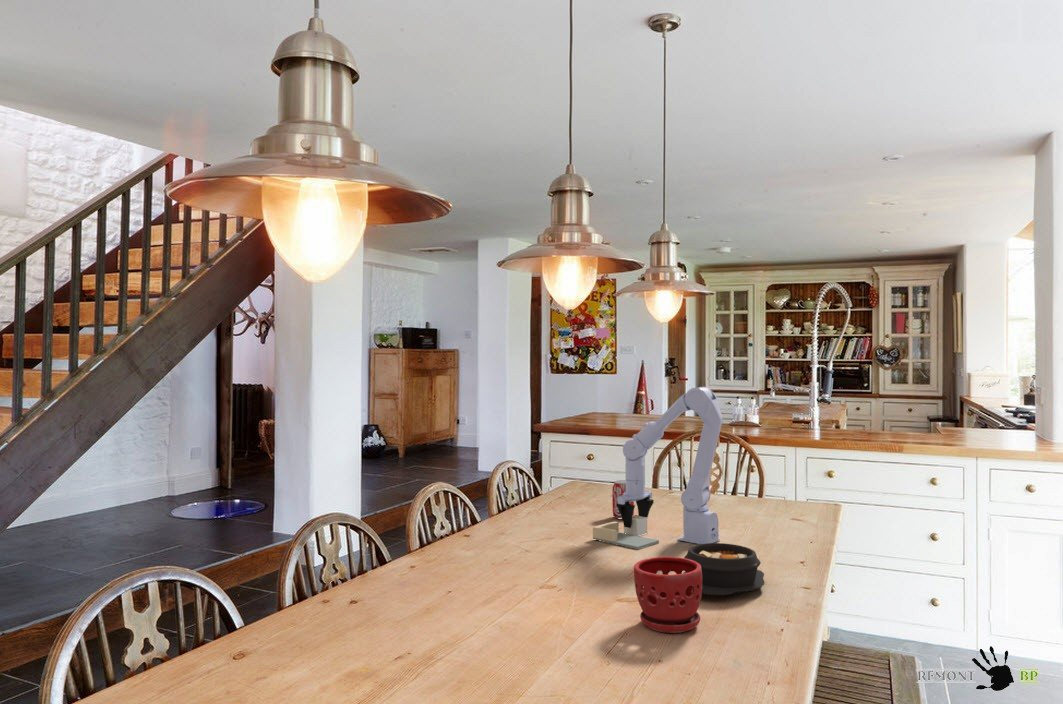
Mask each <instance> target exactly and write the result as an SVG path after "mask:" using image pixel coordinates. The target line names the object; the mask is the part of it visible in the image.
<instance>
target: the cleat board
mask: <svg viewBox="0 0 1063 704" xmlns="http://www.w3.org/2000/svg"><path fill="white" fill-rule="evenodd" d="M619 526H620V525H619V521H611V522H607V523H603V524H598V525H595V526H593V527H592V540H593V539H596V540H601V541H604V542H608V543H607V544H609V543H613V544H612V545H614V544H617V545H616V546H618V545H622V546H621V547H623V546H625V547H624V548H628V547H630V548H629V549H632V548H634V549H633V550H637V549H638V550H641V548H642V549H644V548H643V547H645V548H647V547H646V546H648V547H651V546H654V545H657V544H656V543H658V544H659V543H660V540H659V539H655V538H650V537H644V536H635V535H630V534H625V533H624V532H619V531H620V530H619V529H620V528H619ZM604 542H603V543H604ZM653 544H654V545H653ZM650 545H651V546H650Z"/></svg>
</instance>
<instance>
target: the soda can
mask: <svg viewBox="0 0 1063 704" xmlns="http://www.w3.org/2000/svg"><path fill="white" fill-rule="evenodd" d="M623 493H626V479H623V480H622V479H621V480H620V479H619V480H618V479H617V480H615V481H614V484H613V485H612V493H611V494H612V495H611V496H612V500H611V501H612V516H613V518H615V517H616V518H622V516H621V513H620V511H619V509H618V508H617V506H616V503H617V502H618V497H620V496H622V495H623ZM630 504H631V505H635V501H633V502H630ZM633 515H635V510H634V511H633ZM633 515H632V516H633ZM616 518H615V519H616Z"/></svg>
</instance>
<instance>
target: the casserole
mask: <svg viewBox="0 0 1063 704" xmlns="http://www.w3.org/2000/svg"><path fill="white" fill-rule="evenodd" d="M683 558H686V559H690V560H693V561H696V562H697V563H699V564H700V565H701V569H702V594H701V595H705V596H706V595H707V596H716V597H717V596H718V597H720V596H721V597H722V596H724V597H725V596H728V595H737V594H742V593H746V592H751V591H755V590H757V589H760V588H762V587H763V586H764V585H765V580H764V577H765V573H764V571H762V570H760V569H758V567H759V566H760V565H761V560H760V559H759V558H758V556H757V553H756V551H755V550H753V549H752V548H749V547H747V546H742V545H739V544H738V545H737V544H732V543H719V542H714V543H707V544H695V545H692V546H690V547H689V548H688V550H687V553H686V554H685V555H684V557H683ZM683 573H686V572H685V571H683ZM692 590H693V589H692Z"/></svg>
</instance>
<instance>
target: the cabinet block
mask: <svg viewBox="0 0 1063 704" xmlns="http://www.w3.org/2000/svg"><path fill="white" fill-rule="evenodd" d="M623 533H626V534H630V535H635V536H639V535H642V534H645V533H647V534H648V518H647V517H641V516H639V515H638V514H634V515H633V516H632V525H631V528H627V527H624V526H623ZM642 536H643V535H642Z"/></svg>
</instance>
